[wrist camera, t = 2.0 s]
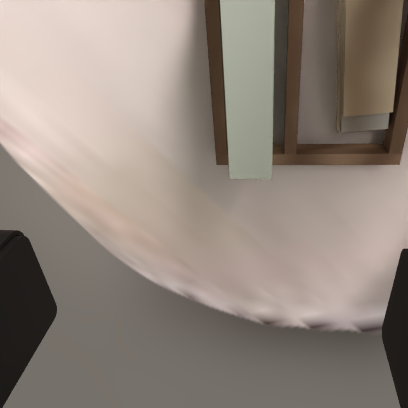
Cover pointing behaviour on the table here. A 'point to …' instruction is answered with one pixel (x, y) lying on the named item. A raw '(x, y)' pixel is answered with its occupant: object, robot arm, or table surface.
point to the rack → (291, 151)
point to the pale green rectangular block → (249, 85)
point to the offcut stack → (367, 63)
